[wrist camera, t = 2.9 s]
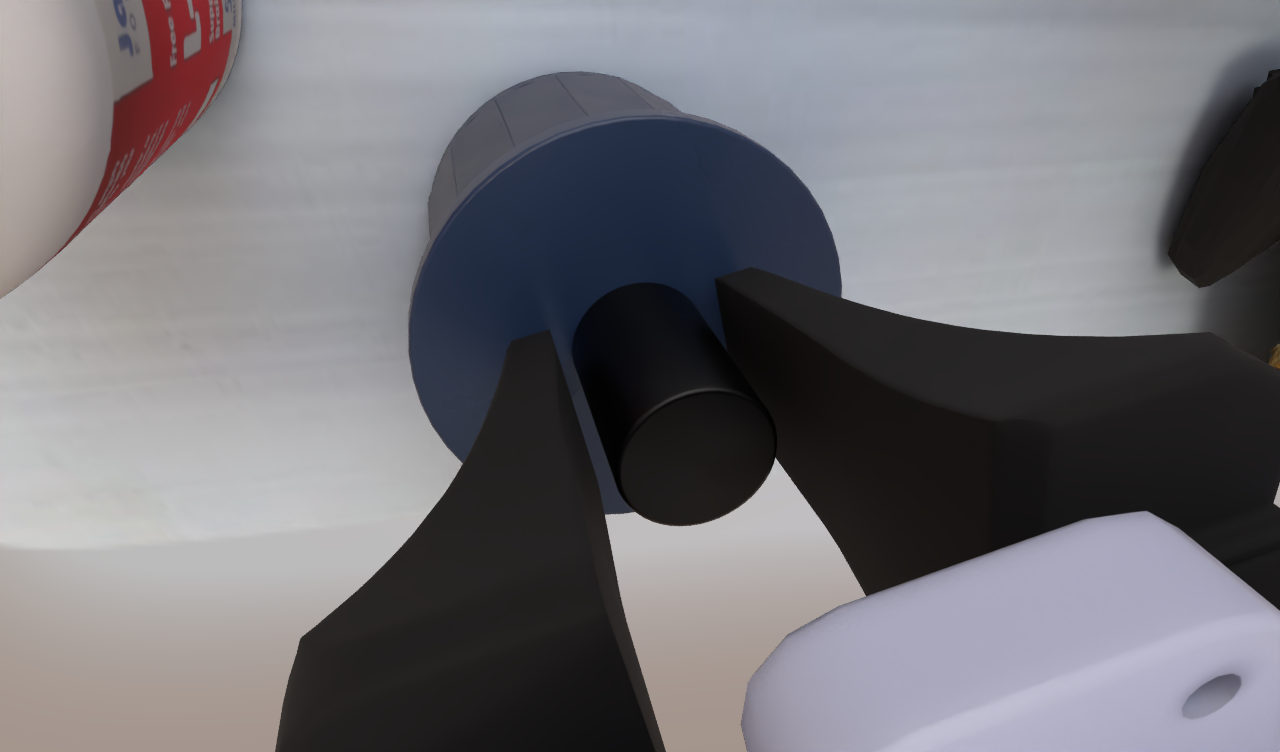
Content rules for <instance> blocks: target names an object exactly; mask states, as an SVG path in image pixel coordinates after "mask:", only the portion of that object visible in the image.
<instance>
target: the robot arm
mask: <svg viewBox="0 0 1280 752" xmlns="http://www.w3.org/2000/svg"><path fill="white" fill-rule="evenodd" d="M714 279H715V285H716V291H717V296H718V302H719V308H720V313H721V319H722V325H723V330H724V336H725V342H726V347H727V352H728V354H729V355H730V356H731V358H732V359H733V361H734V362H735V364H736V365H737V366H738V368H739V369H740V371H741V372H742V374H743V375H744V376H745V378H746V379H747V381H748V382H749V384H750V385H751V386H752V388H753V389H754V391H755V392H756V394H757V395H758V396H759V398H760V399H761V401H762V402H763V404H764V405H765V407H766V408H767V409H768V411H769V413H770V414H771V416H772V418H773V421H774V423H775V426H776V432H777V451H776V459H777V460H778V462H779V463H780V464H781V466H782V467H783V468H784V470H785V471H786V473H787V474H788V475H789V477H790V478H791V480H792V481H793V482H794V484H795V485H796V486H797V488H798V489H799V491H800V492H801V493H802V495H803V496H804V498H805V499H806V500H807V502H808V503H809V504H810V506H811V507H812V508H813V510H814V511H815V513H816V514H817V515H818V517H819V518H820V520H821V521H822V522H823V524H824V525H825V527H826V528H827V530H828V531H829V533H830V534H831V536H832V537H833V539H834V540H835V542H836V544H837V545H838V547H839V548H840V550H841V552H842V554H843V555H844V557H845V559H846V561H847V562H848V564H849V566H850V568H851V570H852V571H853V573H854V575H855V577H856V579H857V580H858V582H859V584H860V586H861V587H862V589H863V591H864V593H865V595H866V597H864V598H860V599H858V600H855V601H852V602H849V603H846V604H843V605H841V606H838V607H836V608H834V609H833V610H831V611H829V612H827V613H825V614H824V615H822V616H820V617H818V618H816V619H815V620H813V621H811V622H809V623H808V624H806V625H804V626H802V627H800V628H798V629H797V630H795V631H793V632H791V633H789V634H788V635H787V636H786V637H785V638H784V639H783V640H782V641H781V643H780V644H779V645H778V646H777V647H776V649H775V650H774V651H773V652H772V653H771V654H770V656H769V657H768V658H767V659H766V660H765V661H764V663H763V664H762V665H761V666H760V667H759V668H758V670H757V671H756V672H755V673H754V674H753V676H752V678H751V679H750V681H749V682H748V685H747V692H746V697H745V703H744V709H743V714H742V720H741V727H742V732H743V736H744V740H745V744H746V748H747V752H1280V508H1279V507H1278V506H1276V505H1275V504H1273V502H1274V499H1275V496H1276V493H1277V490H1278V486H1279V483H1280V370H1278V369H1276V368H1275V367H1273V366H1271V365H1269V364H1267V363H1266V362H1264V361H1262V360H1260V359H1258V358H1256V357H1255V356H1253V355H1251V354H1249V353H1247V352H1246V351H1244V350H1242V349H1240V348H1238V347H1236V346H1235V345H1233V344H1231V343H1229V342H1227V341H1226V340H1224V339H1222V338H1220V337H1218V336H1216V335H1215V334H1213V333H1210V332H1208V333H1187V334H1166V335H1145V336H1125V337H1094V336H1053V335H1033V334H1021V333H1011V332H1000V331H990V330H981V329H974V328H966V327H959V326H954V325H948V324H943V323H937V322H932V321H926V320H921V319H916V318H912V317H907V316H903V315H899V314H895V313H891V312H888V311H884V310H880V309H877V308H873V307H869V306H866V305H862V304H859V303H856V302H853V301H849V300H846V299H843V298H840V297H837V296H834V295H831V294H828V293H825V292H822V291H820V290H817V289H814V288H811V287H808V286H806V285H803V284H800V283H797V282H795V281H792V280H789V279H786V278H784V277H781V276H778V275H775V274H773V273H770V272H767V271H764V270H760V269H757V268H753V267H750V268H746V269H743V270H740V271H737V272H733V273H730V274H727V275H724V276H720V277H717V278H714ZM275 752H666V751H665V747H664V744H663V741H662V738H661V734H660V731H659V728H658V724H657V721H656V718H655V714H654V711H653V708H652V704H651V701H650V698H649V695H648V691H647V688H646V685H645V681H644V678H643V675H642V672H641V668H640V665H639V662H638V658H637V655H636V652H635V648H634V645H633V642H632V638H631V635H630V632H629V628H628V625H627V622H626V618H625V614H624V609H623V606H622V601H621V597H620V592H619V587H618V581H617V576H616V571H615V566H614V561H613V556H612V550H611V545H610V540H609V535H608V529H607V524H606V519H605V514H604V509H603V504H602V498H601V493H600V488H599V483H598V480H597V477H596V474H595V471H594V467H593V464H592V461H591V458H590V455H589V452H588V449H587V445H586V442H585V439H584V436H583V433H582V430H581V426H580V423H579V420H578V417H577V414H576V411H575V408H574V404H573V401H572V398H571V395H570V392H569V389H568V385H567V382H566V379H565V376H564V373H563V370H562V367H561V363H560V360H559V357H558V354H557V351H556V348H555V344H554V341H553V338H552V335H551V332H550V329H549V330H545V331H542V332H539V333H536V334H532V335H529V336H526V337H523V338H519V339H516V340H513V341H511V343H510V344H509V346H508V348H507V350H506V356H505V360H504V365H503V368H502V372H501V375H500V378H499V382H498V385H497V388H496V391H495V393H494V396H493V399H492V401H491V404H490V407H489V410H488V412H487V415H486V417H485V420H484V422H483V424H482V426H481V428H480V430H479V433H478V435H477V437H476V439H475V441H474V443H473V445H472V447H471V450H470V452H469V453H468V455H467V457H466V459H465V461H464V463H463V464H462V466H461V468H460V470H459V471H458V473H457V475H456V477H455V478H454V480H453V481H452V483H451V484H450V486H449V488H448V489H447V491H446V492H445V494H444V495H443V496H442V498H441V499H440V500H439V502H438V503H437V504H436V505H435V507H434V508H433V509H432V510H431V512H430V513H429V514H428V516H427V517H426V518H425V519H424V521H423V522H422V523H421V524H420V526H419V527H418V528H417V530H416V531H415V532H414V533H413V535H412V536H411V537H410V538H409V539H408V540H407V541H406V542H405V543H404V544H403V546H402V547H401V548H400V549H399V550H398V551H397V552H396V553H395V554H394V555H393V556H392V557H391V558H390V560H388V561H387V562H386V564H385V565H384V566H383V567H381V568H380V569H379V570H378V571H377V572H376V573H375V575H373V577H371V578H370V579H369V580H368V581H367V582H366V583H365V584H364V585H363V586H362V587H361V588H360V589H359V590H358V591H356V592H355V593H354V594H353V595H352V596H351V597H349V598H348V599H347V600H346V601H345V602H343V603H342V604H341V605H340V606H339V607H338V608H337V609H335V610H334V611H333V612H332V613H331V614H329V615H328V616H327V617H326V618H325V619H323V620H322V621H321V622H320V623H319V624H318V625H316V627H314V628H313V629H312V630H310V631H309V632H308V633H306V634H305V635H304V636H303V637H302V638H301V639H300V642H299V646H298V650H297V654H296V657H295V661H294V664H293V667H292V670H291V674H290V676H289V680H288V685H287V689H286V693H285V697H284V702H283V707H282V713H281V719H280V725H279V731H278V738H277V744H276V750H275Z"/></svg>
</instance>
